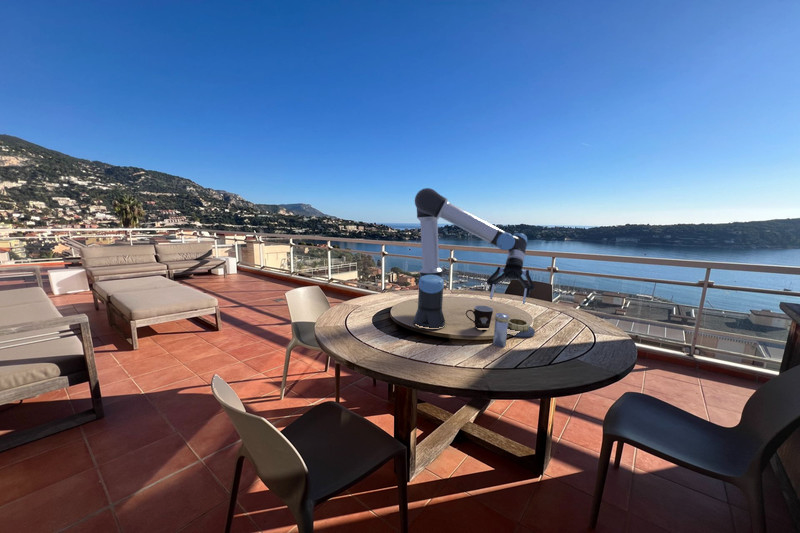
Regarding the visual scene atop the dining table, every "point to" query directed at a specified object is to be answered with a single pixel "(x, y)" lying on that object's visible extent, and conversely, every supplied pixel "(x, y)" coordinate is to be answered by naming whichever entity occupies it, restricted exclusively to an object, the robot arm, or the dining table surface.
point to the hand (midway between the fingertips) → (506, 300)
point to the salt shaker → (500, 329)
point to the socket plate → (526, 334)
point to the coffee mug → (482, 316)
